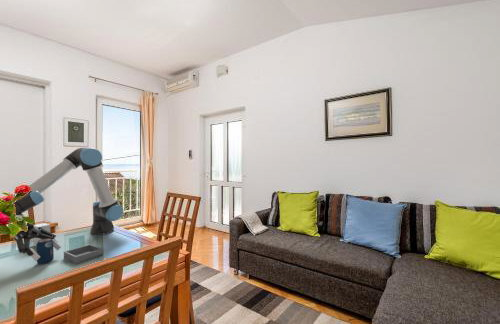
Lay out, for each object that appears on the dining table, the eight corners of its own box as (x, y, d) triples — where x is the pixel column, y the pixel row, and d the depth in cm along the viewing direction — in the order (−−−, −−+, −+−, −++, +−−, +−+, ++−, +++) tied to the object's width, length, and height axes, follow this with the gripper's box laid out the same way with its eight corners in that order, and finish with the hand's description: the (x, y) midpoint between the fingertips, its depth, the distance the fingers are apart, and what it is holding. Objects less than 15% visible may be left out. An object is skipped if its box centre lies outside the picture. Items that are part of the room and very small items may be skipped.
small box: (51, 244, 155) (50, 224, 154) (38, 248, 149) (38, 227, 149) (44, 242, 158) (44, 222, 158) (32, 245, 153) (32, 225, 152)
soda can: (55, 261, 130) (54, 239, 130) (38, 266, 125) (38, 243, 124) (51, 258, 134) (51, 236, 134) (35, 262, 129) (34, 240, 128)
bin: (90, 250, 146) (90, 244, 145) (102, 255, 139) (102, 248, 138) (63, 258, 134) (63, 251, 134) (75, 264, 127) (75, 257, 127)
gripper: (37, 223, 142) (63, 249, 142) (-9, 238, 117) (22, 269, 117) (45, 214, 141) (71, 240, 142) (1, 227, 117) (32, 258, 117)
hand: (49, 253), depth 129 cm, fingers open, 13 cm apart
